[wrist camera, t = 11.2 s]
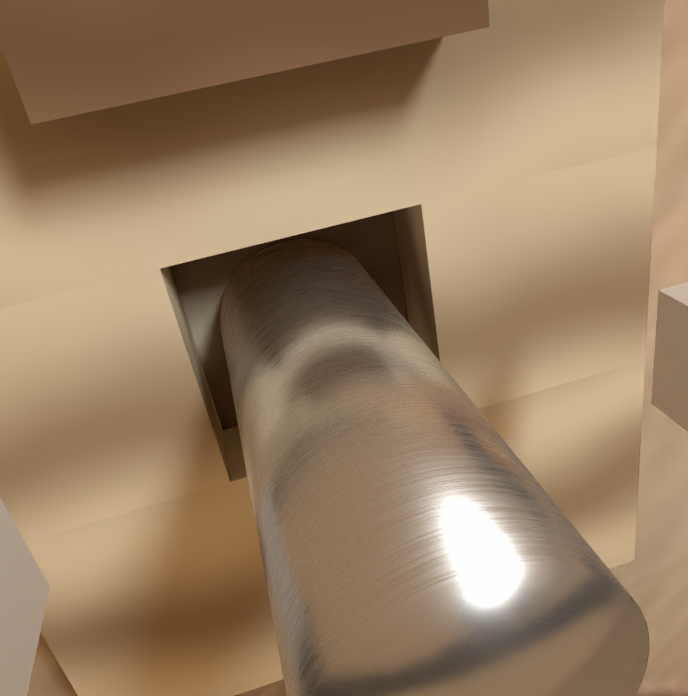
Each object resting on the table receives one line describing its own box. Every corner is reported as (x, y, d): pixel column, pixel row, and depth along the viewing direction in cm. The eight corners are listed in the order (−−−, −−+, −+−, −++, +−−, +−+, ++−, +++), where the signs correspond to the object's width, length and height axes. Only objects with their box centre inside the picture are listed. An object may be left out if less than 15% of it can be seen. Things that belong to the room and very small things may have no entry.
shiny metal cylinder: (200, 261, 17) (255, 649, 6) (363, 221, 17) (659, 516, 7) (241, 402, 19) (335, 869, 8) (386, 362, 19) (641, 753, 9)
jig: (-308, -106, 12) (-547, -173, 8) (600, -249, 14) (768, -354, 10) (110, 669, 22) (98, 808, 18) (592, 512, 24) (673, 605, 21)
